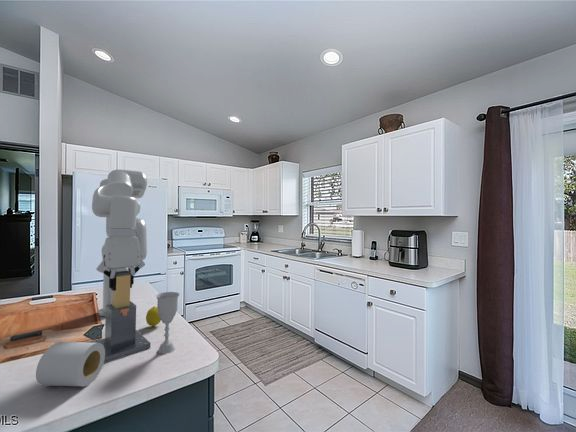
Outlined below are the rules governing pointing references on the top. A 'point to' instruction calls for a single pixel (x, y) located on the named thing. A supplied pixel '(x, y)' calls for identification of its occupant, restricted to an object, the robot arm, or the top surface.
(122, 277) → the column
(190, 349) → the top surface
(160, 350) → the chalice
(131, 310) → the stand
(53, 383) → the toilet paper
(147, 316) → the lemon
